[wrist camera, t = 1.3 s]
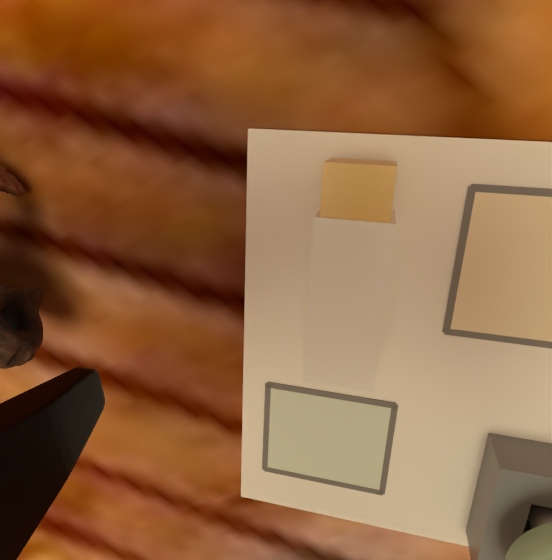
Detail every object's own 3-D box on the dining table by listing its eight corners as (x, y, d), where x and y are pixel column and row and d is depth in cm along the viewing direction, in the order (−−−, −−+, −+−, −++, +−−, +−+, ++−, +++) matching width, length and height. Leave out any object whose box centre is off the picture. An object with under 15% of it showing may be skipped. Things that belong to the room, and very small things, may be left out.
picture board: (586, 562, 23) (592, 575, 22) (244, 488, 26) (240, 497, 26) (734, 150, 16) (748, 151, 15) (251, 128, 20) (247, 128, 19)
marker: (375, 358, 21) (374, 392, 18) (312, 349, 22) (302, 381, 19) (400, 161, 18) (403, 166, 15) (327, 157, 19) (317, 162, 16)
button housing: (591, 548, 22) (620, 607, 19) (463, 521, 23) (474, 573, 21) (627, 448, 20) (665, 498, 18) (486, 425, 22) (500, 468, 19)
